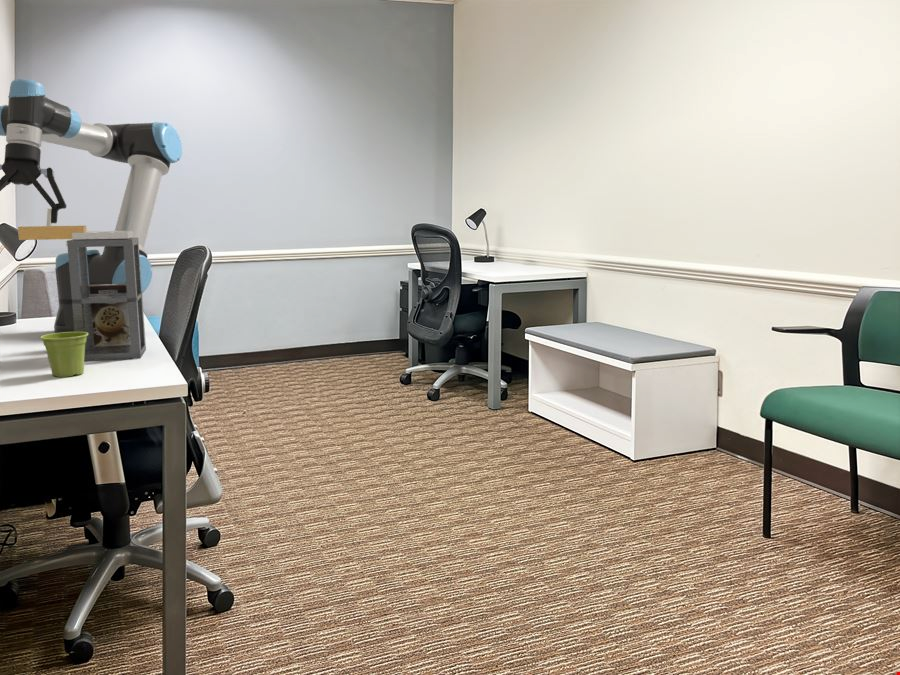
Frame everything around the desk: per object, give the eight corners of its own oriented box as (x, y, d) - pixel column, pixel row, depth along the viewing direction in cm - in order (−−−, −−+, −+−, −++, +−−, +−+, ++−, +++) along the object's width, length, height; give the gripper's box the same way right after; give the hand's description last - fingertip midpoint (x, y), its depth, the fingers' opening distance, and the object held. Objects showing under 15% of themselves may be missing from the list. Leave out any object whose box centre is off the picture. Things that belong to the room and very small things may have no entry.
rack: (84, 352, 206) (75, 238, 201) (146, 349, 209) (138, 237, 205) (75, 361, 194) (65, 240, 190) (140, 358, 198) (132, 239, 193)
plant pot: (38, 380, 174) (34, 339, 172) (50, 371, 183) (46, 332, 182) (86, 377, 176) (82, 337, 174) (95, 369, 185) (92, 330, 183)
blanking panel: (26, 238, 198) (25, 226, 197) (133, 236, 203) (132, 224, 203) (15, 240, 188) (14, 227, 188) (128, 238, 194) (127, 225, 193)
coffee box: (93, 349, 210) (87, 286, 208) (93, 346, 216) (88, 283, 213) (131, 347, 213) (127, 284, 211) (131, 343, 219) (126, 282, 217)
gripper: (-40, 135, 192) (-47, 226, 191) (77, 148, 199) (71, 236, 198) (-31, 143, 200) (-38, 231, 199) (82, 155, 207) (76, 240, 206)
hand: (17, 234), depth 199 cm, fingers open, 13 cm apart
